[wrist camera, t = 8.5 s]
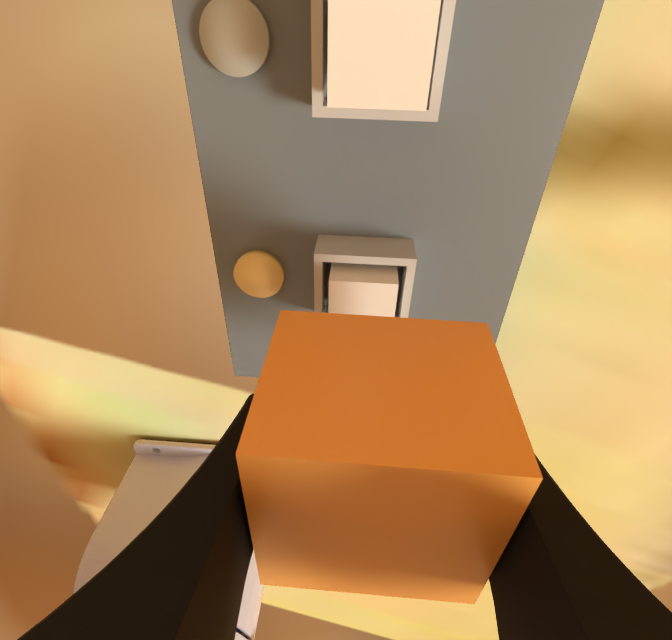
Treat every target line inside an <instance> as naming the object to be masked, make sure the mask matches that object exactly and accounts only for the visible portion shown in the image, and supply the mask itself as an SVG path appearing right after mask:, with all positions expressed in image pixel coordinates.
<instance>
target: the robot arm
mask: <svg viewBox="0 0 672 640" xmlns="http://www.w3.org/2000/svg"><path fill="white" fill-rule="evenodd" d="M253 396H254V394H251V395H250V396H249V397H248V398H247V400H246V402H245V404H244V405H243V407H242V408H241V410H240V411H239V413H238V415H237V416H236V418H235V419H234V421H233V422H232V424H231V425H230V426H229V428H228V429H227V431H226V432H225V434H224V435H223V436H222V438H221V439H220V440H219V442H218V443H217V445H211V444H197V443H184V442H170V441H157V440H143V439H140V440H136V442H135V443H134V445H133V449H134V451H135V454H136V455H135V457H134V458H133V460H132V462H131V464H130V466H129V468H128V470H127V471H126V473H125V475H124V477H123V479H122V481H121V483H120V485H119V486H118V488H117V490H116V492H115V494H114V496H113V498H112V500H111V501H110V503H109V505H108V507H107V509H106V511H105V513H104V515H103V516H102V518H101V520H100V522H99V524H98V526H97V528H96V530H95V532H94V533H93V535H92V537H91V539H90V541H89V543H88V545H87V547H86V550H85V552H84V555H83V557H82V560H81V563H80V566H79V569H78V573H77V577H76V581H75V586H74V593H73V595H72V596H71V597H70V598H68V599H67V600H66V601H65V602H64V603H63V604H61V605H60V606H59V607H58V608H57V609H55V610H54V611H53V612H52V613H51V614H49V615H48V616H47V617H46V618H44V619H43V620H42V621H40V622H39V623H38V624H36V625H35V626H34V627H33V628H31V629H30V630H29V631H28V632H26V633H25V634H24V635H22V636H21V637H20V638H19V639H17V640H254V637H255V631H256V626H257V621H258V616H259V610H260V605H261V600H262V595H263V589H264V585H262V584H260V580H259V575H258V570H257V565H256V559H255V554H254V549H253V544H252V538H251V533H250V528H249V523H248V517H247V512H246V507H245V502H244V496H243V491H242V486H241V481H240V475H239V470H238V465H237V460H236V451H237V448H238V444H239V441H240V438H241V435H242V432H243V428H244V425H245V422H246V419H247V416H248V412H249V409H250V406H251V403H252V400H253ZM535 457H536V455H535ZM536 460H537V463H538V465H539V468H540V471H541V474H542V477H543V480H542V481H541V483H540V485H539V487H538V489H537V491H536V492H535V494H534V496H533V498H532V500H531V502H530V503H529V505H528V507H527V509H526V511H525V513H524V514H523V516H522V518H521V520H520V522H519V524H518V525H517V527H516V529H515V531H514V533H513V535H512V536H511V538H510V540H509V542H508V544H507V546H506V547H505V549H504V551H503V553H502V555H501V557H500V558H499V560H498V562H497V564H496V566H495V568H494V569H493V571H492V573H491V575H490V577H489V581H490V585H491V590H492V595H493V600H494V606H495V613H496V620H497V627H498V634H499V640H672V612H671V611H670V610H669V609H667V608H666V607H665V606H664V605H663V604H662V603H661V602H660V601H659V600H658V599H657V598H656V597H655V596H654V595H653V594H652V593H651V592H650V591H649V590H648V589H647V588H646V587H645V586H644V585H643V584H642V583H641V582H640V581H639V580H638V579H637V578H636V577H635V576H634V574H633V573H632V572H631V571H630V570H629V569H628V568H627V567H626V566H625V565H624V564H623V563H622V562H621V561H620V559H619V558H618V557H617V556H616V555H615V554H614V553H613V552H612V551H611V550H610V548H609V547H608V546H607V545H606V544H605V543H604V542H603V541H602V539H601V538H600V537H599V536H598V535H597V534H596V532H595V531H594V530H593V529H592V528H591V527H590V525H589V524H588V523H587V522H586V520H585V519H584V518H583V517H582V516H581V514H580V513H579V512H578V511H577V510H576V508H575V507H574V506H573V505H572V503H571V502H570V501H569V499H568V498H567V497H566V496H565V494H564V493H563V492H562V490H561V489H560V488H559V486H558V485H557V484H556V482H555V481H554V480H553V479H552V477H551V476H550V475H549V473H548V472H547V471H546V469H545V468H544V466H543V465H542V464H541V462H540V461H539V459H538V458H537V457H536Z"/></svg>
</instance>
